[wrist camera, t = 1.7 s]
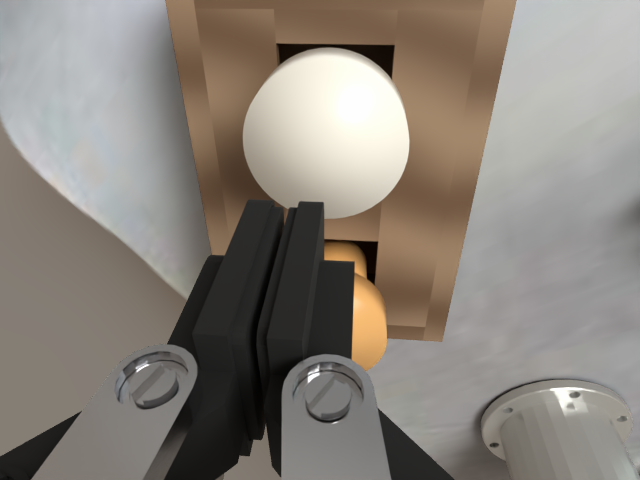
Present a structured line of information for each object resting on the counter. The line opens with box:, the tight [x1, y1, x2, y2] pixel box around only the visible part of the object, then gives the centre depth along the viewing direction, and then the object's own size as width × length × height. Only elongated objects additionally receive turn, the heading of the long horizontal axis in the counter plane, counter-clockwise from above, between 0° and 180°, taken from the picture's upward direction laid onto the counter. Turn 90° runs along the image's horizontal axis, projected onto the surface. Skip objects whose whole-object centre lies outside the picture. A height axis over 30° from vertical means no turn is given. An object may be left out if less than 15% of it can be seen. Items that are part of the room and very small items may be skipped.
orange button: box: [324, 239, 387, 371], centre depth 24 cm, size 6×6×6 cm
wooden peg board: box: [165, 0, 517, 342], centre depth 26 cm, size 20×14×6 cm
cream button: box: [243, 47, 409, 219], centre depth 19 cm, size 6×6×6 cm
